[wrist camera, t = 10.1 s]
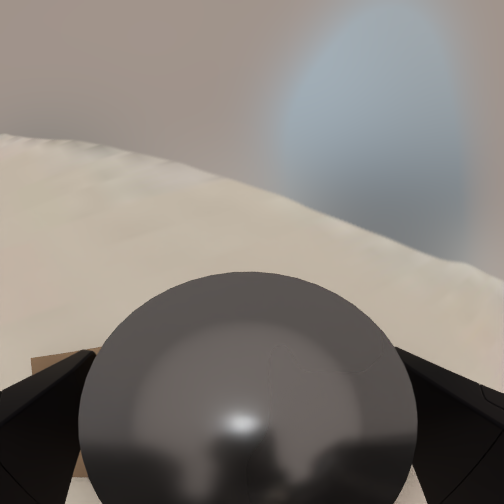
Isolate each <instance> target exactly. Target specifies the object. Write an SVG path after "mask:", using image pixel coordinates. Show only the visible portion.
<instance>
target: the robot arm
mask: <svg viewBox="0 0 504 504" xmlns="http://www.w3.org/2000/svg"><path fill="white" fill-rule="evenodd" d="M395 349H396V351H397V352H398V354H399V356H400V358H401V360H402V362H403V363H404V365H405V368H406V370H407V373H408V376H409V378H410V381H411V384H412V388H413V392H414V396H415V401H416V409H417V421H418V425H417V442H416V447H415V453H414V458H413V462H412V465H413V467H414V470H415V472H416V475H417V477H418V480H419V482H420V485H421V488H422V490H423V493H424V495H425V498H426V501H427V504H504V393H501V392H498V391H496V390H493V389H491V388H488V387H486V386H484V385H481V384H480V385H479V383H477V382H474V381H472V380H470V379H467V378H465V377H463V376H460V375H458V374H456V373H453V372H451V371H449V370H447V369H444V368H442V367H440V366H438V365H435V364H433V363H431V362H429V361H426V360H424V359H422V358H420V357H418V356H415V355H413V354H411V353H409V352H407V351H404V350H402V349H400V348H398V347H395ZM96 356H97V355H96V353H95V352H94V351H92V350H81V351H79V352H77V353H75V354H73V355H71V356H69V357H67V358H65V359H63V360H61V361H59V362H57V363H55V364H53V365H51V366H49V367H47V368H45V369H43V370H41V371H39V372H38V373H36V374H34V375H32V376H30V377H28V378H26V379H24V380H22V381H20V382H18V383H16V384H14V385H12V386H10V387H8V388H6V389H4V390H2V391H0V504H65V501H66V497H67V494H68V490H69V486H70V483H71V479H72V476H73V473H74V469H75V466H76V463H77V459H78V456H79V453H80V450H81V448H80V442H79V428H78V416H79V408H80V400H81V395H82V391H83V387H84V384H85V380H86V377H87V375H88V372H89V370H90V368H91V366H92V363H93V361H94V359H95V357H96Z"/></svg>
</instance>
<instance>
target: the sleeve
mask: <svg viewBox="0 0 504 504" xmlns="http://www.w3.org/2000/svg"><path fill="white" fill-rule="evenodd" d="M417 425H418V421H417V409H416V401H415V396H414V392H413V388H412V384H411V381H410V378H409V376H408V373H407V370H406V368H405V365H404V363H403V362H402V360H401V358H400V356H399V354H398V352H397V351H396V349H395V347H394V346H393V345H392V343H391V342H390V340H389V339H388V338H387V336H386V335H385V334H384V332H383V331H382V330H381V329H380V328H379V327H378V326H377V325H376V324H375V323H374V322H373V321H372V320H371V319H370V318H369V317H368V316H367V315H366V314H364V313H363V312H362V311H361V310H359V309H358V308H357V307H356V306H355V305H353V304H352V303H350V302H348V301H347V300H345V299H344V298H342V297H340V296H339V295H337V294H336V293H333V292H331V291H329V290H327V289H325V288H323V287H321V286H319V285H316V284H313V283H310V282H307V281H304V280H301V279H298V278H294V277H289V276H284V275H280V274H273V273H262V272H231V273H224V274H217V275H210V276H207V277H203V278H199V279H195V280H191V281H188V282H186V283H183V284H181V285H178V286H176V287H173V288H170V289H169V290H167V291H165V292H163V293H161V294H159V295H157V296H155V297H154V298H152V299H150V300H149V301H147V302H146V303H145V304H143V305H142V306H140V307H139V308H138V309H136V310H135V311H134V312H132V313H131V314H130V315H129V316H128V317H127V318H126V319H125V320H124V321H123V322H122V323H121V324H119V325H118V327H117V328H116V329H115V330H114V331H113V333H112V334H111V335H110V336H109V337H108V339H107V340H106V341H105V343H104V344H103V346H102V347H101V349H100V351H99V352H98V354H97V356H96V357H95V359H94V361H93V363H92V366H91V368H90V370H89V372H88V375H87V377H86V380H85V384H84V387H83V391H82V395H81V400H80V408H79V416H78V428H79V442H80V448H81V454H82V459H83V462H84V465H85V468H86V471H87V474H88V477H89V480H90V482H91V484H92V486H93V488H94V490H95V492H96V494H97V496H98V498H99V499H100V501H101V502H102V504H393V503H394V502H395V500H396V499H397V497H398V495H399V493H400V492H401V490H402V488H403V486H404V484H405V482H406V479H407V477H408V474H409V471H410V468H411V465H412V462H413V458H414V453H415V447H416V442H417Z"/></svg>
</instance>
